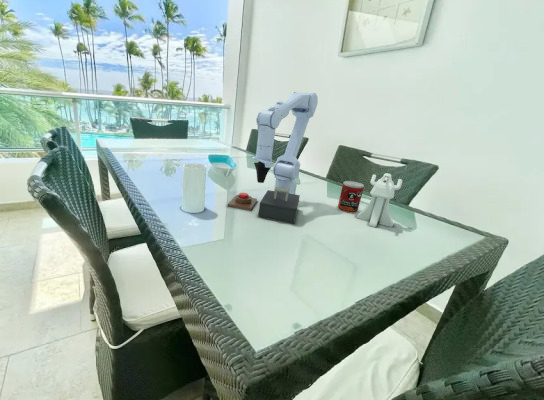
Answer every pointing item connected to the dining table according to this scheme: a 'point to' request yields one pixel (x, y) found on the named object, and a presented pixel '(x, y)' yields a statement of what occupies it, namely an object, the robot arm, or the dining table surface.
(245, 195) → the button
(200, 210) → the cup
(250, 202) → the control block
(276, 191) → the lid
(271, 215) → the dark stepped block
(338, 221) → the dining table surface
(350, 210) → the canned food
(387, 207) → the white mech figurine
